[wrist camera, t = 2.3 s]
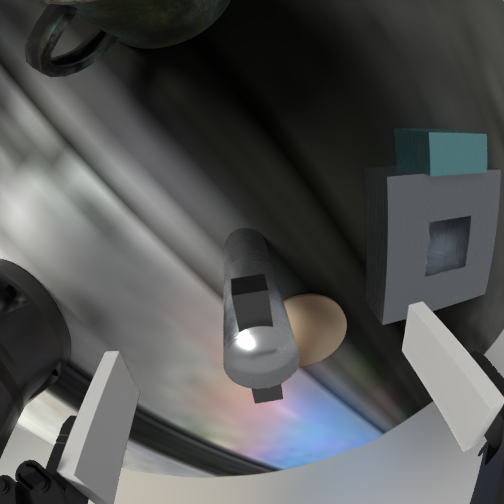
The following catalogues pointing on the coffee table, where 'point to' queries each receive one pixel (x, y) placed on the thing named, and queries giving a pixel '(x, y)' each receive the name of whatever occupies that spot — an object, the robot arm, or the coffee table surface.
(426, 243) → the block
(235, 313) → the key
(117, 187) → the coffee table surface
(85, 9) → the mug
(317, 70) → the coffee table surface
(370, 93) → the coffee table surface
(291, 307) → the coaster
